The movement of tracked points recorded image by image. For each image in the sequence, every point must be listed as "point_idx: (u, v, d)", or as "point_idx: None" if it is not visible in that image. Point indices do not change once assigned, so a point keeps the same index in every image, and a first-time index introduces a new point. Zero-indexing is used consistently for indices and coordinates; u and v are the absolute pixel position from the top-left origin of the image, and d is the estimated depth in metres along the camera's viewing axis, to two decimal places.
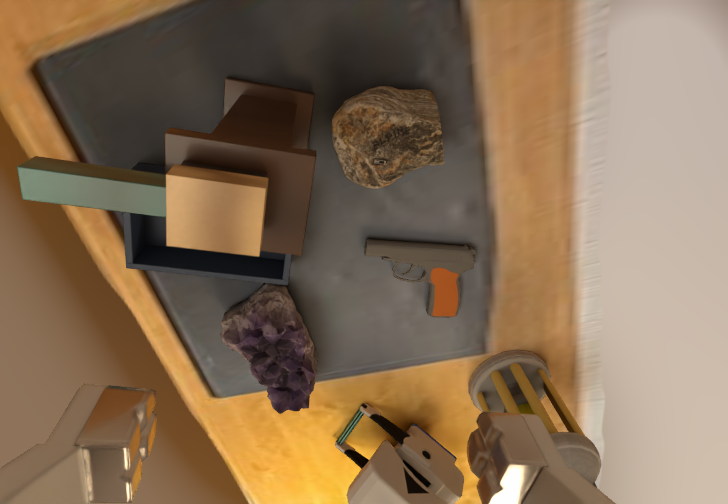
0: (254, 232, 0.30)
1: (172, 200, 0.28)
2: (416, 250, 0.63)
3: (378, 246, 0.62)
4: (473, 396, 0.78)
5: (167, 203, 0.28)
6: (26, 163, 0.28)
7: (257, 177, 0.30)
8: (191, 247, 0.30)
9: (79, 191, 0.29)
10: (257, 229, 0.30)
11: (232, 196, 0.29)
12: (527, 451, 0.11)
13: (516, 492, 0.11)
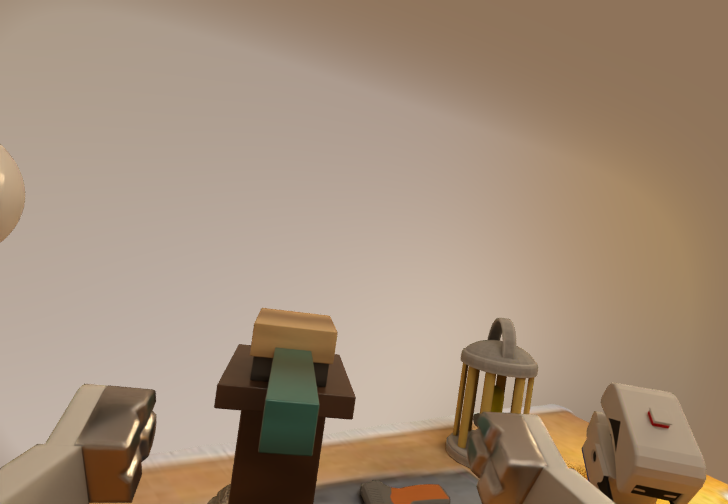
0: (305, 313, 0.33)
1: (283, 324, 0.28)
2: None
3: None
4: None
5: (287, 326, 0.27)
6: (263, 414, 0.18)
7: None
8: (333, 326, 0.29)
9: (293, 376, 0.22)
10: (302, 313, 0.33)
11: (271, 313, 0.31)
12: (527, 451, 0.11)
13: (516, 493, 0.11)
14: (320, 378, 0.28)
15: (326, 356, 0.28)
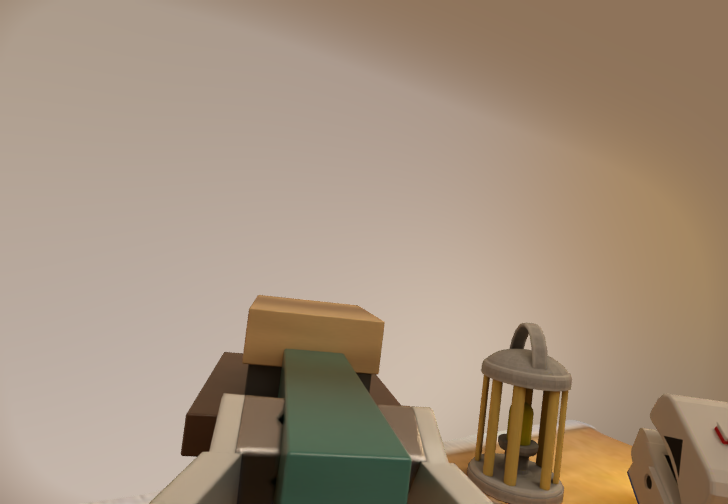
0: (323, 302, 0.22)
1: (296, 311, 0.17)
2: None
3: None
4: (552, 493, 0.65)
5: (303, 313, 0.17)
6: (281, 487, 0.08)
7: None
8: (373, 315, 0.19)
9: (330, 395, 0.11)
10: (318, 301, 0.22)
11: (274, 300, 0.20)
12: (408, 445, 0.10)
13: None
14: None
15: (367, 361, 0.17)
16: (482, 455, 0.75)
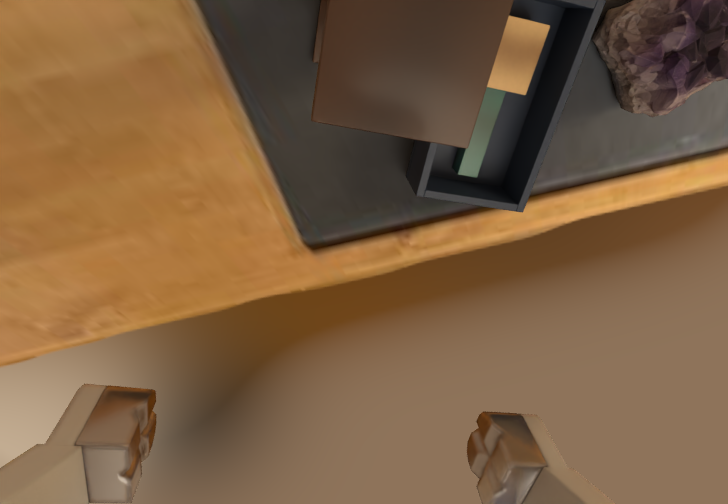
0: (530, 26, 0.40)
1: (494, 83, 0.42)
2: None
3: None
4: None
5: (495, 87, 0.42)
6: (456, 170, 0.48)
7: None
8: (530, 77, 0.42)
9: (477, 144, 0.46)
10: (528, 23, 0.40)
11: None
12: (527, 451, 0.11)
13: (517, 493, 0.11)
14: None
15: None
16: None
